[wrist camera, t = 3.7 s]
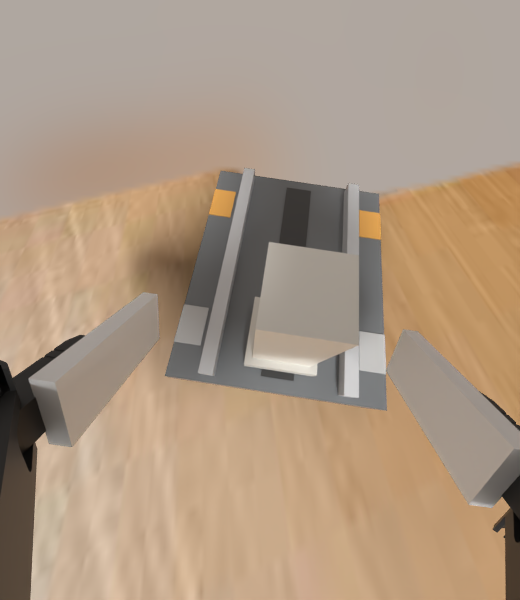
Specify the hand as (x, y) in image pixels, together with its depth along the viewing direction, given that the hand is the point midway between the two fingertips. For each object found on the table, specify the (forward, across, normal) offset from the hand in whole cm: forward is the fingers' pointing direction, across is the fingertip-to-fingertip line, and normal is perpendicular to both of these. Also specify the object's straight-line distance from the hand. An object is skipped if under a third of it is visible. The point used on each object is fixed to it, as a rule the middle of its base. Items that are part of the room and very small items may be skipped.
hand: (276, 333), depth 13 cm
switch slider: (+5, +1, -3) cm, 5 cm away
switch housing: (+11, +1, -1) cm, 11 cm away
